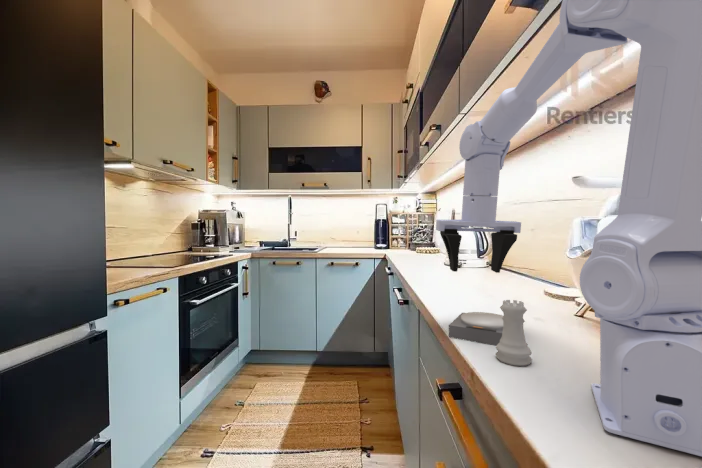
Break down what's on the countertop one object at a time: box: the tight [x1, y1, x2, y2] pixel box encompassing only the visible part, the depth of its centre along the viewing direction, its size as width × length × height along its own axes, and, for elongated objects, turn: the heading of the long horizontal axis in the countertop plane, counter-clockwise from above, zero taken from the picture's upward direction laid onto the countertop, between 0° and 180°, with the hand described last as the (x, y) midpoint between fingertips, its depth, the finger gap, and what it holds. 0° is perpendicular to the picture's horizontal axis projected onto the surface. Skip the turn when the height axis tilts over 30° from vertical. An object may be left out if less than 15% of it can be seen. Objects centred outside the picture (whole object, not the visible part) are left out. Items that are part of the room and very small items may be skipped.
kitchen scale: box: [448, 311, 504, 346], centre depth 53 cm, size 10×10×3 cm
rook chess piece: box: [495, 299, 533, 367], centre depth 42 cm, size 4×4×8 cm
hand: (474, 270), depth 57 cm, fingers open, 7 cm apart
